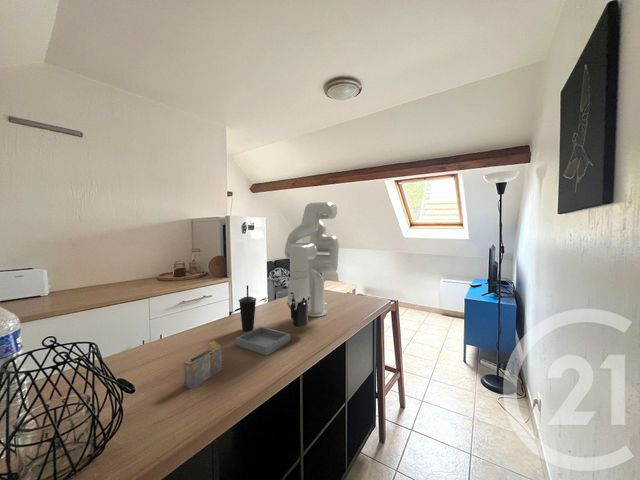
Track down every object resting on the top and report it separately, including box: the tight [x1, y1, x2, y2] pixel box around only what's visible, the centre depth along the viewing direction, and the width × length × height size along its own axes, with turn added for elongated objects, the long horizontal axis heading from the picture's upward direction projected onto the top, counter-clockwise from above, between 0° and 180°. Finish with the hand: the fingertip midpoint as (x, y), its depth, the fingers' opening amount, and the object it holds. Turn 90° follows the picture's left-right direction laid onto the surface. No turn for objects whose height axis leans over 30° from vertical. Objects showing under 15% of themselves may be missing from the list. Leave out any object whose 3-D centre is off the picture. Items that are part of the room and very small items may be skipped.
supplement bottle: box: [291, 298, 309, 328], centre depth 110 cm, size 7×7×12 cm
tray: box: [235, 325, 292, 357], centre depth 103 cm, size 14×16×3 cm
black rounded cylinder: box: [238, 285, 257, 333], centre depth 117 cm, size 8×8×20 cm
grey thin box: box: [183, 340, 223, 390], centre depth 79 cm, size 11×3×10 cm, turn 154°
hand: (299, 315), depth 110 cm, fingers closed on supplement bottle, 6 cm apart
